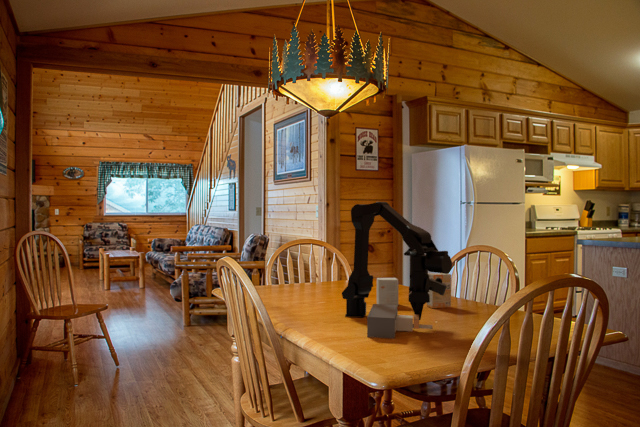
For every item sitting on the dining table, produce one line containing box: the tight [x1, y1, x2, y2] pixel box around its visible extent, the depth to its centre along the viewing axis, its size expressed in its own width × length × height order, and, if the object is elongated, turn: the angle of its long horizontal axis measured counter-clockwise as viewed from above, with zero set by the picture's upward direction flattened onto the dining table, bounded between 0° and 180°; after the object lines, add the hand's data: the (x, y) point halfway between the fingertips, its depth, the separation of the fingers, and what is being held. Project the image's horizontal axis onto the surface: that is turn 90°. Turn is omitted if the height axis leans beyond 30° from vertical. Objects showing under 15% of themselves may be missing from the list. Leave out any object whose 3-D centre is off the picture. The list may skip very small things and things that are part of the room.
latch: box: [413, 313, 420, 330], centre depth 146 cm, size 2×8×3 cm, turn 168°
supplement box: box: [426, 272, 452, 309], centre depth 187 cm, size 8×5×13 cm, turn 105°
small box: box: [376, 277, 399, 307], centre depth 190 cm, size 8×6×10 cm
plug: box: [396, 314, 434, 332], centre depth 149 cm, size 11×4×4 cm, turn 79°
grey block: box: [366, 303, 399, 339], centre depth 151 cm, size 8×20×6 cm, turn 169°
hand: (418, 320), depth 151 cm, fingers closed
